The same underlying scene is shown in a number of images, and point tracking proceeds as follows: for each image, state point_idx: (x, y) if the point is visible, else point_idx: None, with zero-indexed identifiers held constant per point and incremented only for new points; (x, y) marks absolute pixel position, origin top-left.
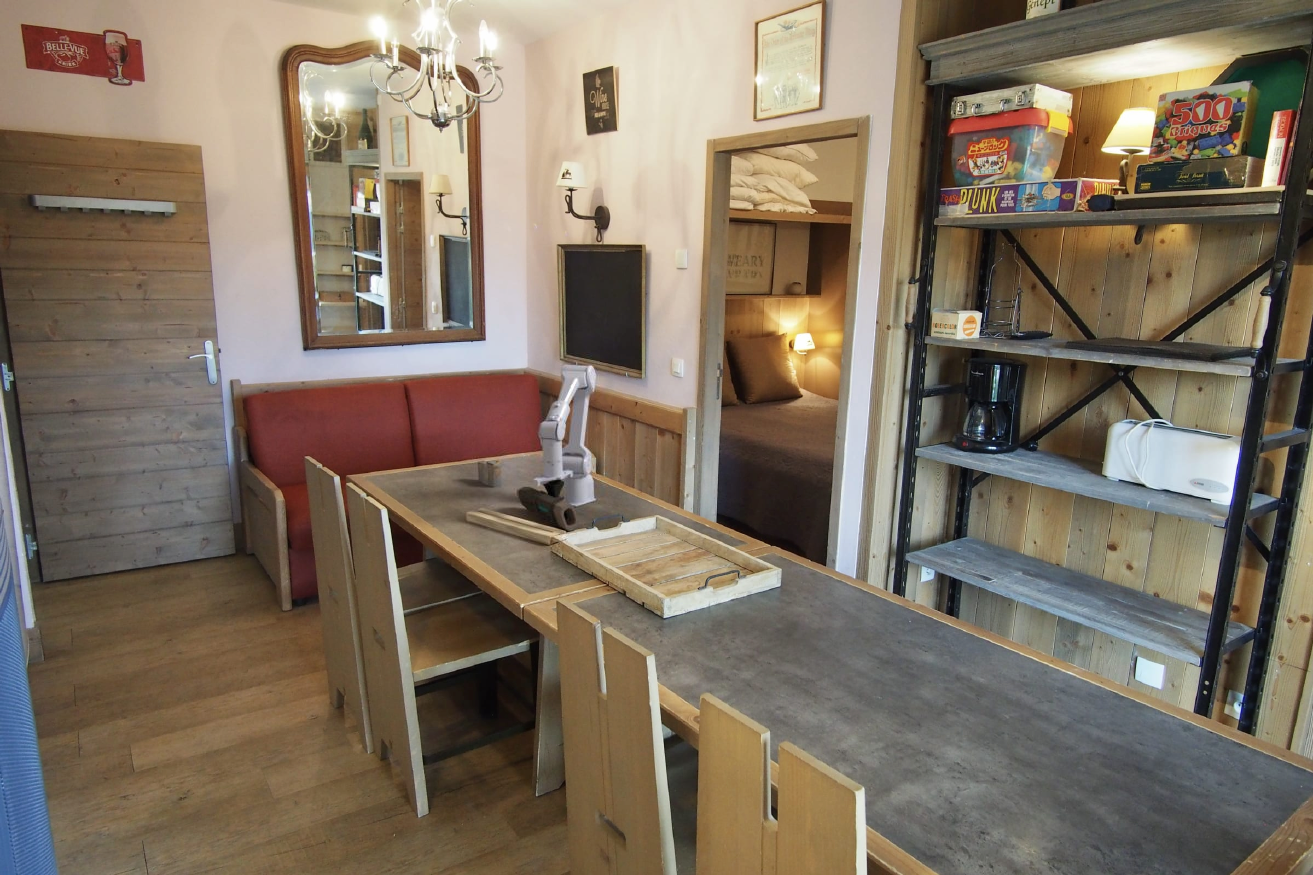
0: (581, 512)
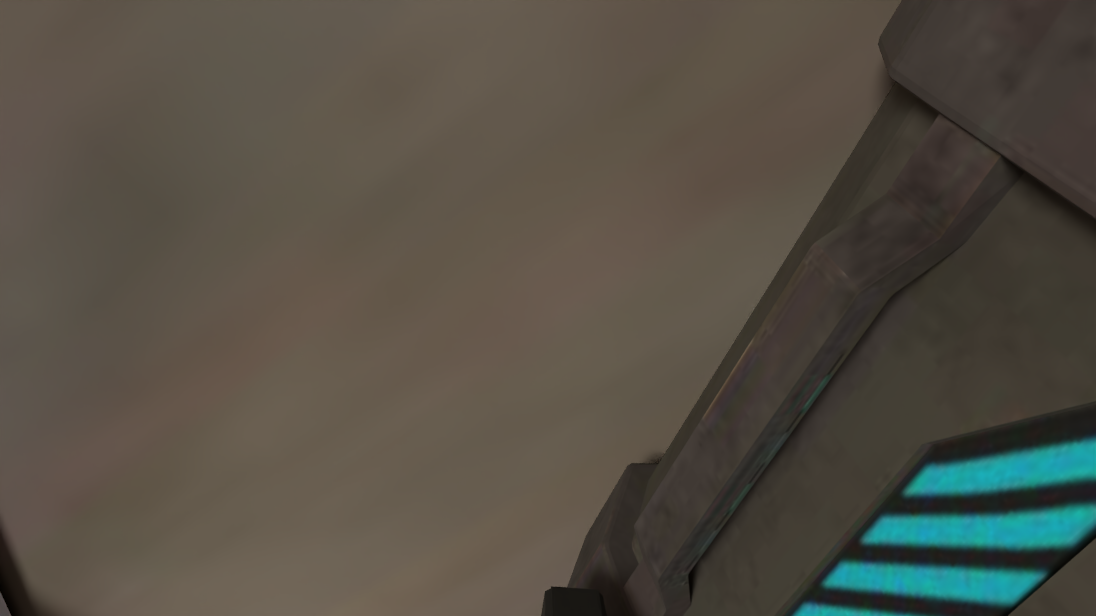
0: (37, 241)
